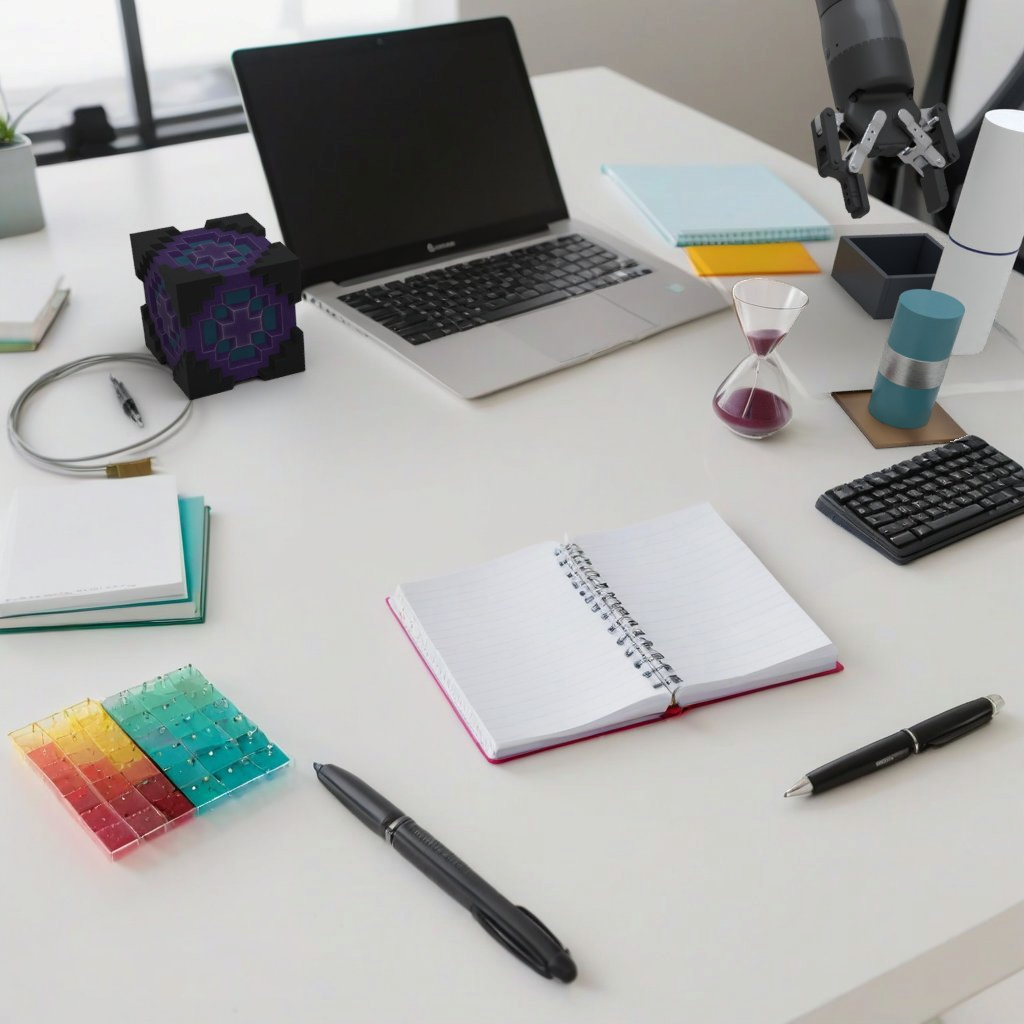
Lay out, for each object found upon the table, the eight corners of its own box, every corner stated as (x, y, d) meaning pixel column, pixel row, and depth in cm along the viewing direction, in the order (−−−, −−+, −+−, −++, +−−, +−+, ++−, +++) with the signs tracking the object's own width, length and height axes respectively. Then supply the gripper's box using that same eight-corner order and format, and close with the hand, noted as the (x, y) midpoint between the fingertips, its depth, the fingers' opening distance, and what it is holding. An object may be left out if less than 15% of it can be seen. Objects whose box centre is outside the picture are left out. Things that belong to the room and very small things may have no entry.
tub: (913, 278, 142) (927, 232, 138) (961, 322, 133) (977, 274, 129) (828, 282, 139) (840, 235, 136) (871, 327, 130) (885, 278, 127)
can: (911, 394, 118) (944, 287, 111) (941, 427, 113) (978, 317, 106) (856, 398, 116) (887, 290, 109) (884, 431, 112) (918, 320, 105)
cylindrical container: (916, 356, 125) (988, 127, 110) (914, 327, 131) (982, 105, 116) (984, 367, 124) (1066, 138, 109) (979, 337, 130) (1056, 115, 115)
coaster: (918, 388, 120) (920, 384, 120) (969, 441, 112) (970, 437, 112) (830, 394, 118) (831, 390, 118) (875, 448, 110) (877, 444, 110)
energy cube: (189, 400, 109) (175, 284, 102) (145, 345, 117) (129, 233, 110) (305, 370, 115) (299, 258, 108) (256, 319, 123) (247, 212, 116)
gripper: (821, 35, 107) (857, 202, 105) (951, 32, 111) (987, 192, 109) (782, 76, 114) (815, 233, 112) (905, 72, 118) (939, 223, 116)
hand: (900, 213), depth 111 cm, fingers open, 8 cm apart
